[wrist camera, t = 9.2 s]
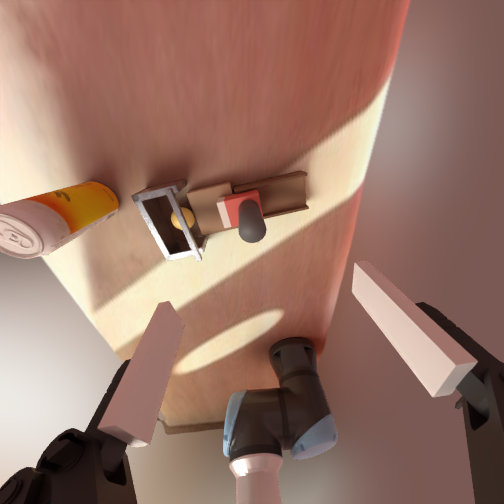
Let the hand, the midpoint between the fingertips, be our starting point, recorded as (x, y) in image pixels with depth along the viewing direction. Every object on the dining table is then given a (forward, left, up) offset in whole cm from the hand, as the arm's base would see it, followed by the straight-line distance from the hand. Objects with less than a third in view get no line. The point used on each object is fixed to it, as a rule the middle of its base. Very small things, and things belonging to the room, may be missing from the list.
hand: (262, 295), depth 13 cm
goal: (0, +13, -24) cm, 28 cm away
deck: (0, +6, -24) cm, 25 cm away
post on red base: (0, +1, -22) cm, 22 cm away
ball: (0, +12, -22) cm, 25 cm away
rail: (0, -4, -24) cm, 25 cm away
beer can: (+6, +25, -24) cm, 35 cm away
